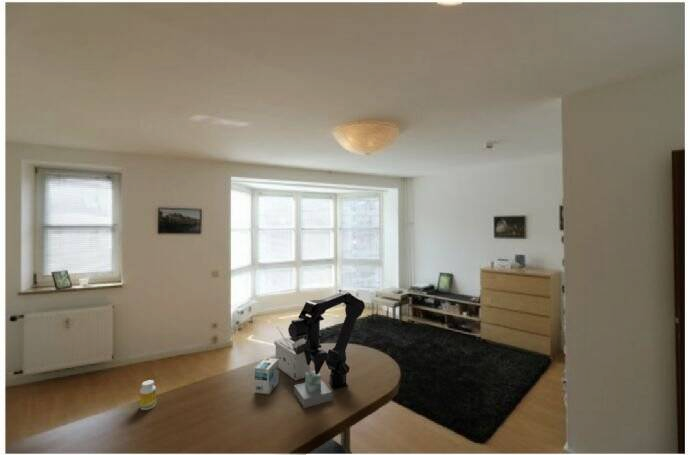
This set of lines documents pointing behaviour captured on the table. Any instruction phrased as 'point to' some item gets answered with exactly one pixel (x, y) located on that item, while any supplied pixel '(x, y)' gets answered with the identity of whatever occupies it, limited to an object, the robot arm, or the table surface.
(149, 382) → the supplement bottle
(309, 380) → the teal block
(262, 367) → the light bulb box
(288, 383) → the table surface
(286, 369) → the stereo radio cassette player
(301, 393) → the grey square block
